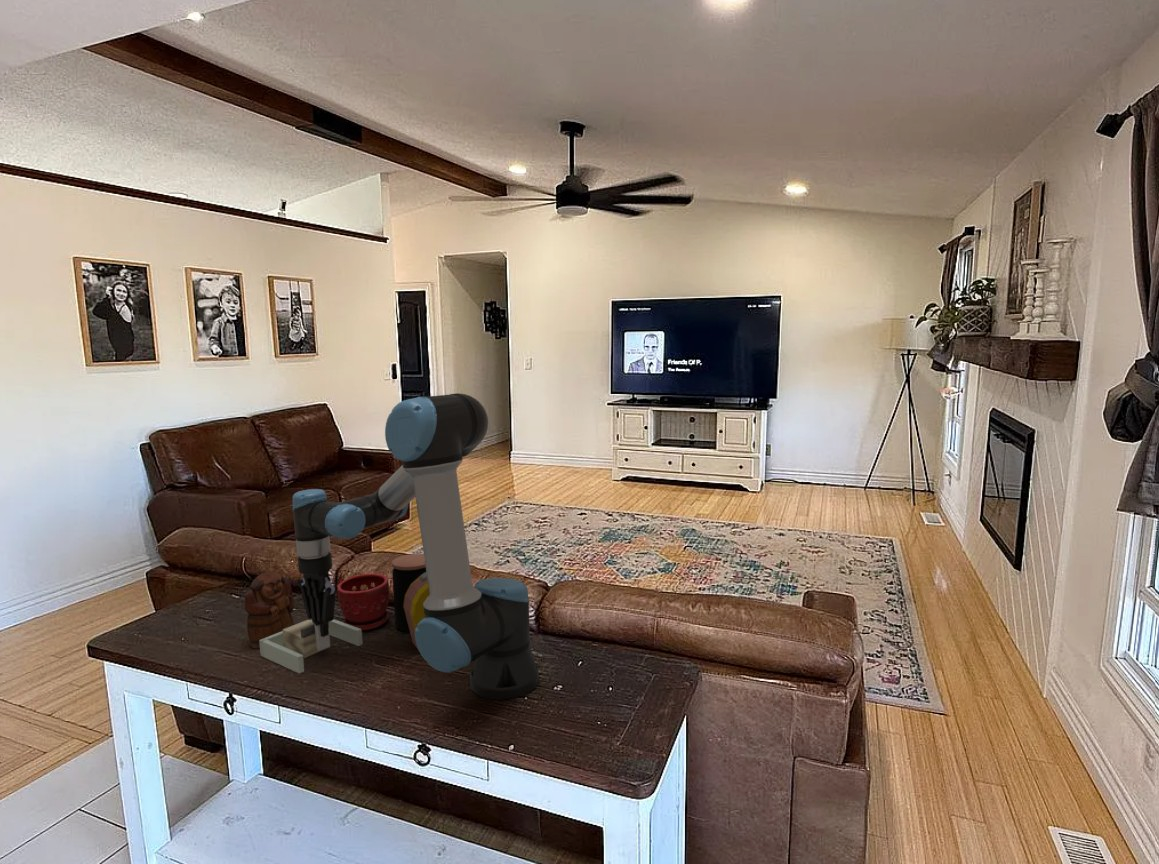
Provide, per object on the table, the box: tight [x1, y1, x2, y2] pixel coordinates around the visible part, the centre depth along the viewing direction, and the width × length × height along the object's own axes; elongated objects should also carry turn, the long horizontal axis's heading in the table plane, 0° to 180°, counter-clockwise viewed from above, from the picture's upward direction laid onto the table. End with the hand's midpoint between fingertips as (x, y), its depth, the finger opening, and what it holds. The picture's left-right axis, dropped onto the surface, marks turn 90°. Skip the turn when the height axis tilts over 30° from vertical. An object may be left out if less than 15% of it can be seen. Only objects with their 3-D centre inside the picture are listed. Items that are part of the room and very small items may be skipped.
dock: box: [259, 618, 363, 675], centre depth 163 cm, size 16×17×4 cm
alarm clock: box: [403, 572, 430, 649], centre depth 165 cm, size 15×8×18 cm, turn 123°
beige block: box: [282, 619, 331, 659], centre depth 164 cm, size 9×7×7 cm
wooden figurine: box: [244, 571, 295, 649], centre depth 168 cm, size 12×6×18 cm, turn 159°
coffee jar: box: [391, 553, 426, 633], centre depth 175 cm, size 11×11×18 cm
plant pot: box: [336, 573, 390, 631], centre depth 177 cm, size 13×13×12 cm
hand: (323, 647), depth 160 cm, fingers closed
